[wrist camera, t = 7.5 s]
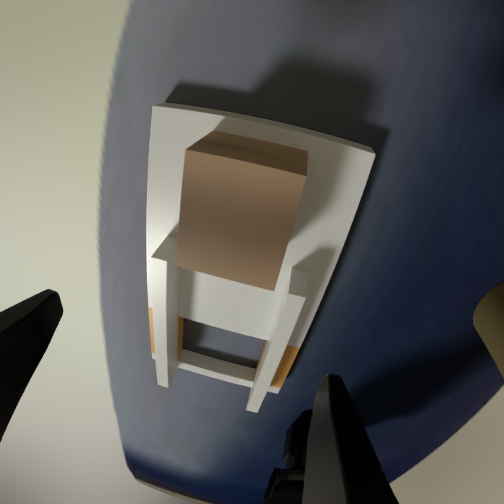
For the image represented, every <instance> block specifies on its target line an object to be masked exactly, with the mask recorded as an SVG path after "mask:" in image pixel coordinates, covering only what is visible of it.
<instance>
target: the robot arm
mask: <svg viewBox="0 0 504 504" xmlns="http://www.w3.org/2000/svg"><path fill="white" fill-rule="evenodd" d="M62 315H63V307H62V303H61V300H60V296H59V294H58V293H57V292H56V291H53V290H51V289H47V290H44V291H42V292H40V293H38V294H36V295H34V296H32V297H30V298H28V299H26V300H24V301H22V302H20V303H18V304H16V305H14V306H12V307H10V308H8V309H6V310H4V311H2V312H0V442H1V440H2V437H3V435H4V432H5V430H6V428H7V425H8V423H9V421H10V419H11V417H12V415H13V413H14V411H15V409H16V406H17V405H18V402H19V400H20V398H21V396H22V394H23V393H24V391H25V389H26V387H27V385H28V383H29V381H30V379H31V377H32V375H33V373H34V372H35V370H36V368H37V366H38V364H39V362H40V361H41V359H42V357H43V355H44V353H45V352H46V349H47V348H48V345H49V343H50V341H51V339H52V336H53V334H54V332H55V330H56V328H57V326H58V324H59V321H60V319H61V317H62ZM283 461H284V462H287V466H286V469H280V468H274V471H273V473H272V474H271V477H270V481H269V484H268V487H267V490H266V493H265V496H264V498H263V500H262V502H261V504H399V503H398V501H397V499H396V497H395V495H394V493H393V491H392V489H391V487H390V485H389V482H388V480H387V478H386V476H385V473H384V471H382V470H383V469H382V467H381V464H380V462H379V460H378V458H377V455H376V453H375V451H374V448H373V446H372V444H371V442H370V439H369V437H368V435H367V433H366V431H365V428H364V426H363V424H362V422H361V419H360V417H359V415H358V413H357V411H356V408H355V406H354V404H353V402H352V400H351V397H350V395H349V393H348V391H347V389H346V387H345V384H344V382H343V380H342V378H341V377H340V376H339V375H335V374H330V373H328V374H326V376H325V377H324V379H323V380H322V382H321V383H320V385H319V387H318V389H317V392H316V396H315V402H314V407H313V413H302V414H301V415H300V416H299V418H298V419H297V421H296V422H294V423H293V424H292V425H291V426H290V428H289V429H288V430H287V433H286V440H285V446H284V453H283Z"/></svg>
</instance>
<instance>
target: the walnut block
mask: <svg viewBox="0 0 504 504" xmlns="http://www.w3.org/2000/svg"><path fill="white" fill-rule="evenodd" d="M307 163H308V151H305V150H301V149H298V148H294V147H289V146H285V145H281V144H277V143H273V142H268V141H264V140H259V139H255V138H250V137H245V136H240V135H235V134H230V133H225V132H220V131H214V130H213V131H211V132H210V133H209V134H207V135H206V136H204V137H203V138H201V139H200V140H198V141H197V142H195V143H194V144H193V145H191V146H190V147H188V148H187V149H185V158H184V168H183V178H182V189H181V201H180V214H179V229H178V245H177V265H176V266H179V267H183V268H186V269H190V270H194V271H197V272H201V273H205V274H209V275H212V276H216V277H220V278H224V279H227V280H231V281H235V282H239V283H243V284H247V285H251V286H254V287H258V288H262V289H266V290H270V291H274V290H275V287H276V283H277V280H278V276H279V273H280V270H281V266H282V263H283V259H284V256H285V252H286V249H287V245H288V242H289V238H290V235H291V231H292V228H293V224H294V221H295V217H296V214H297V210H298V206H299V203H300V199H301V195H302V192H303V188H304V184H305V181H306V177H307Z"/></svg>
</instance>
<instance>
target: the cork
mask: <svg viewBox="0 0 504 504" xmlns="http://www.w3.org/2000/svg"><path fill="white" fill-rule="evenodd" d="M473 325H474V327H475V329H476V330H477V332H478V334H479V335H480V337H481V339H482V340H483V342H484V344H485V345H486V347H487V349H488V351H489V352H490V354H491V356H492V358H493V359H494V361H495V363H496V365H497V367H498V369H499V370H500V372H501V374H502V376H503V378H504V282H503V283H501V284H498V285H497V286H495V287H494V288H493V289H491V290H490V291H489V292H488V293H487V294H486V295H485V296H484V297H483V298H482V299H481V300H480V302H479V304H478V306H477V307H476V309H475V312H474V316H473Z"/></svg>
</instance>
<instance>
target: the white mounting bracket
mask: <svg viewBox="0 0 504 504" xmlns="http://www.w3.org/2000/svg"><path fill="white" fill-rule="evenodd" d="M213 130H214V131H220V132H225V133H230V134H235V135H240V136H245V137H250V138H255V139H259V140H264V141H268V142H273V143H277V144H281V145H285V146H289V147H294V148H298V149H301V150H305V151H308V163H307V177H306V181H305V184H304V188H303V192H302V195H301V199H300V203H299V206H298V210H297V214H296V217H295V221H294V224H293V228H292V231H291V235H290V238H289V242H288V245H287V249H286V252H285V256H284V259H283V263H282V266H281V270H280V273H279V276H278V280H277V283H276V287H275V290H274V291H270V290H266V289H262V288H258V287H254V286H251V285H247V284H243V283H239V282H235V281H231V280H227V279H224V278H220V277H216V276H212V275H209V274H205V273H201V272H197V271H194V270H190V269H186V268H183V267H179V266H176V265H177V245H178V229H179V214H180V201H181V189H182V178H183V168H184V158H185V149H187V148H188V147H190V146H191V145H193V144H194V143H195V142H197V141H198V140H200V139H201V138H203V137H204V136H206V135H207V134H209V133H210V132H211V131H213ZM375 155H376V154H375V153H374V151H373V150H372V148H371V147H368V146H365V145H362V144H359V143H356V142H352V141H349V140H346V139H342V138H339V137H335V136H332V135H328V134H325V133H321V132H317V131H314V130H310V129H306V128H302V127H298V126H294V125H290V124H286V123H281V122H277V121H272V120H268V119H263V118H258V117H254V116H249V115H244V114H238V113H233V112H227V111H222V110H216V109H210V108H203V107H197V106H190V105H182V104H175V103H166V102H163V103H160V104H157V105H154V106H153V108H152V119H151V131H150V145H149V161H148V182H147V285H148V307H149V323H150V337H151V349H152V359H155V360H156V371H157V381H158V385H161V386H164V387H167V388H169V385H170V383H171V381H172V378H173V376H174V373H175V371H176V369H177V367H179V368H183V369H186V370H189V371H192V372H196V373H199V374H202V375H206V376H209V377H213V378H217V379H220V380H224V381H228V382H231V383H235V384H239V385H243V386H247V387H251V390H250V395H249V399H248V404H247V408H246V410H247V411H252V412H256V413H257V412H258V410H259V408H260V406H261V403H262V401H263V399H264V397H265V395H266V392H267V391H268V392H273V393H278V392H279V390H280V388H281V386H282V384H283V382H284V380H285V378H286V376H287V374H288V372H289V370H290V368H291V366H292V364H293V361H294V359H295V357H296V355H297V353H298V351H299V349H300V347H301V344H302V342H303V340H304V338H305V336H306V333H307V331H308V329H309V327H310V325H311V322H312V320H313V318H314V315H315V313H316V311H317V309H318V306H319V304H320V302H321V299H322V297H323V295H324V292H325V290H326V287H327V285H328V283H329V280H330V278H331V275H332V273H333V270H334V268H335V266H336V263H337V261H338V258H339V255H340V253H341V250H342V248H343V245H344V243H345V240H346V237H347V235H348V232H349V229H350V227H351V224H352V221H353V219H354V216H355V213H356V211H357V208H358V205H359V202H360V199H361V196H362V194H363V191H364V188H365V185H366V182H367V179H368V176H369V173H370V170H371V167H372V164H373V161H374V158H375ZM184 318H186V319H190V320H193V321H197V322H200V323H204V324H207V325H211V326H214V327H218V328H222V329H225V330H229V331H233V332H236V333H240V334H244V335H248V336H252V337H256V338H260V339H264V340H266V341H265V344H264V347H263V350H262V353H261V356H260V359H259V362H258V365H257V368H256V369H254V368H250V367H246V366H242V365H238V364H235V363H231V362H227V361H223V360H220V359H216V358H212V357H209V356H205V355H202V354H199V353H195V352H192V351H188V350H185V349H183V324H184Z"/></svg>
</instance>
